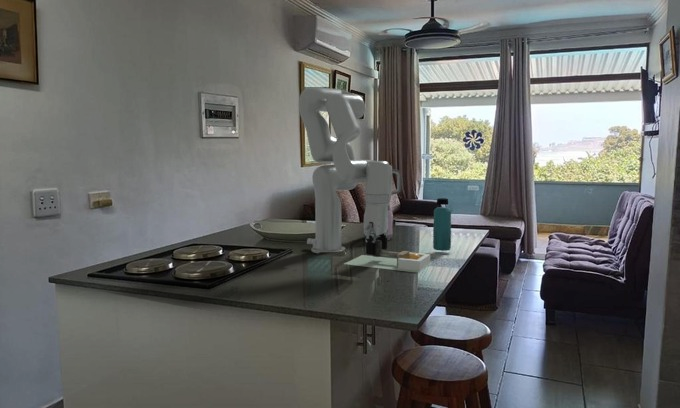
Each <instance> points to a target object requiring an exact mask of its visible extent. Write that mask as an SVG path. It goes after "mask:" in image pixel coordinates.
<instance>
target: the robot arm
mask: <svg viewBox="0 0 680 408" xmlns="http://www.w3.org/2000/svg"><path fill="white" fill-rule="evenodd" d="M365 110H366V104H365V101H364V99H363V98H362V97H361V96H360V95H358V94H354V93H352V92H350V91H347V90H343V89H339V88H331V87H330V88H329V87H319V86H318V87H317V86H316V87H315V86H313V87H312V86H311V87H308V88H305V89H304V90H302V92H300V95H299V99H298V111H299V115H300V118H301V121H302V122H303V125H304V127H305V131H306V136H307V140H308V146H309V149H310V154H311V157H312V159H313V161H314V162H316V163H321V164H324V165H320V166H318V167H316V168H315V170H314V171H313V173H312V175H311V176H312V185H313V190H314V203H315V204H314V206H315V207H314V208H315V238H310V237H309V238H307V239H306V244H307V245H311V246H312V247H311V252H312V253H314V254H320V253H338V252H343V251H345V250H346V247H345V246H343V245H342V210H343V209H342V201H341V197H339V194H338V193H337V192H341V191H350V190H353V189H355V188H356V187H357V186H358V184H359V183H360V184H361V183H365V182H366V194H365V204H366V205H365V209H364V210H365V211H364V213H365V220H364V219H363V233H364V234H365V235H366V236H365V237H364V239H365V238H366V240H365V255H367V256H372V255H376V243H375V240H381V241H382V250H383V251H387V249H388V241H387V238H386V237H388V234H387V232H388V206H387V205H388V204H389V176H390V166H389V165H390V163H389V162H388V161H386V160H373V159H356V158H355V153H354V150H353V147H352V145H351V142H353V141H354V140H357V138H358V137H359V136H360V135H361V127H360V125H359V123H358V119H360V118H362V117H363V116H364V115H365V112H366V111H365ZM320 112H327V114H328V117H329V120H330V123H331V125H332V128H333V131H334V134H335V136H332V134H331V131H330V127H329V124H328V121H327V120H326V118H325V117H324V116H323V115H322V114H321V113H320ZM326 164H327V165H326ZM372 236H373V238H372ZM377 236H379V237H378V238H376V237H377Z"/></svg>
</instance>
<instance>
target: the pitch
mask: <svg viewBox="0 0 680 408" xmlns="http://www.w3.org/2000/svg"><path fill="white" fill-rule="evenodd" d="M433 263H434V262H432V261H430V264H429V265H428V266H426V267H425V268H423V269H422V270H421V271H415V270H406V269H398V266H397V257H387V256H381V257H374V256H372V255H367V254H362V255H359V256H356V257H355V258H353V259H351V260H349V261H348V262H347V261H346V262H344V263H343V265H350V266H357V267H364V268H365V267H366V268H375V269H384V270H392V271H400V272H407V273H408V272H409V273H418V274H419V273H421V272H422V271H423V270H425V269H427V267H429V266H430V265H431V264H433Z"/></svg>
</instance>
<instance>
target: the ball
mask: <svg viewBox="0 0 680 408" xmlns="http://www.w3.org/2000/svg"><path fill="white" fill-rule="evenodd" d="M412 253H413V254H411V255H410V256H409V257H408V259H414V260H417V259H419V258H420V256H419V255H418V254H416V253H417V252H412Z"/></svg>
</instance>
